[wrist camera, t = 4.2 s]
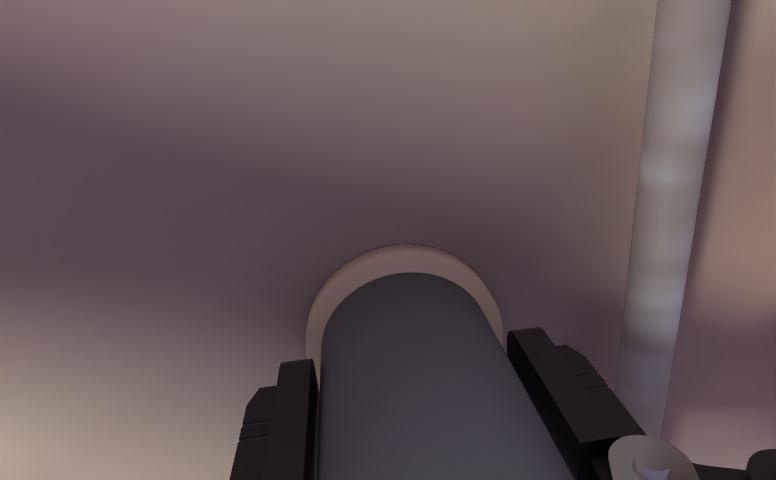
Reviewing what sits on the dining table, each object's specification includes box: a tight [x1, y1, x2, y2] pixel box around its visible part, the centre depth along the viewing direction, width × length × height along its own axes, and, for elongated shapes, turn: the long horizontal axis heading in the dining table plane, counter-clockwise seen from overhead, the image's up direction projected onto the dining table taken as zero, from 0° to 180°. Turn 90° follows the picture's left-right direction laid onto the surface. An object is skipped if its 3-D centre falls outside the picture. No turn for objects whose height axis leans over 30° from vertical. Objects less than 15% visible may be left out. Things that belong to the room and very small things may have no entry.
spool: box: [305, 244, 575, 480], centre depth 10 cm, size 5×5×9 cm
